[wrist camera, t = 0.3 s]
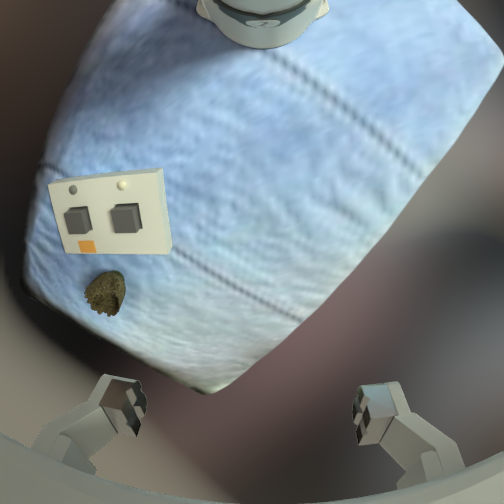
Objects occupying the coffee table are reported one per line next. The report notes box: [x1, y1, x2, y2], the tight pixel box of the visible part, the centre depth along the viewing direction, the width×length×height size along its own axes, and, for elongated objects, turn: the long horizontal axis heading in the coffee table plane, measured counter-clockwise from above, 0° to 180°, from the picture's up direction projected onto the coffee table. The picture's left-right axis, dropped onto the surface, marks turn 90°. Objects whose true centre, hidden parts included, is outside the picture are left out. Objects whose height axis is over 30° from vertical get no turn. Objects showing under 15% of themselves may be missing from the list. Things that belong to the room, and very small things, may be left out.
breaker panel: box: [48, 168, 173, 254], centre depth 47 cm, size 14×22×3 cm, turn 91°
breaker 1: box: [64, 206, 92, 234], centre depth 46 cm, size 4×4×3 cm
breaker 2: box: [110, 203, 142, 233], centre depth 45 cm, size 4×4×3 cm
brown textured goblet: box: [84, 271, 126, 317], centre depth 52 cm, size 8×7×8 cm
